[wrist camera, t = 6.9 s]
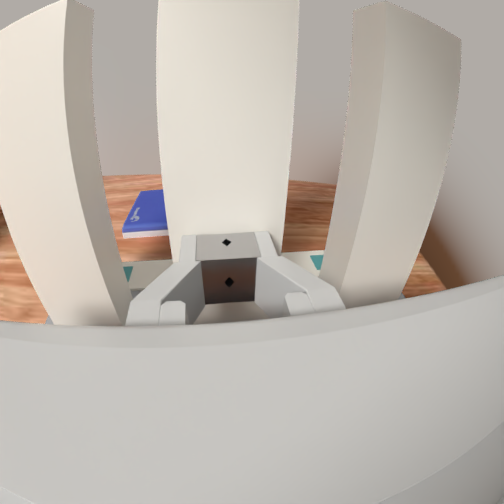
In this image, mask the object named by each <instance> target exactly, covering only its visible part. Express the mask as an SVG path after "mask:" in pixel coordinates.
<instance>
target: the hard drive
mask: <svg viewBox="0 0 504 504" xmlns="http://www.w3.org/2000/svg"><path fill="white" fill-rule="evenodd" d="M122 233H123V237H124V238H136V237H151V236H167V235H169V233H168V225H167V218H166V210H165V202H164V193H163V190H150V191H141V192H140V193H139V195H138V197H137V199H136V201H135V203H134V205H133V207H132V209H131V211H130V212H129V214H128V217H127V218H126V221H125V222H124V225H123V228H122Z"/></svg>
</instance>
